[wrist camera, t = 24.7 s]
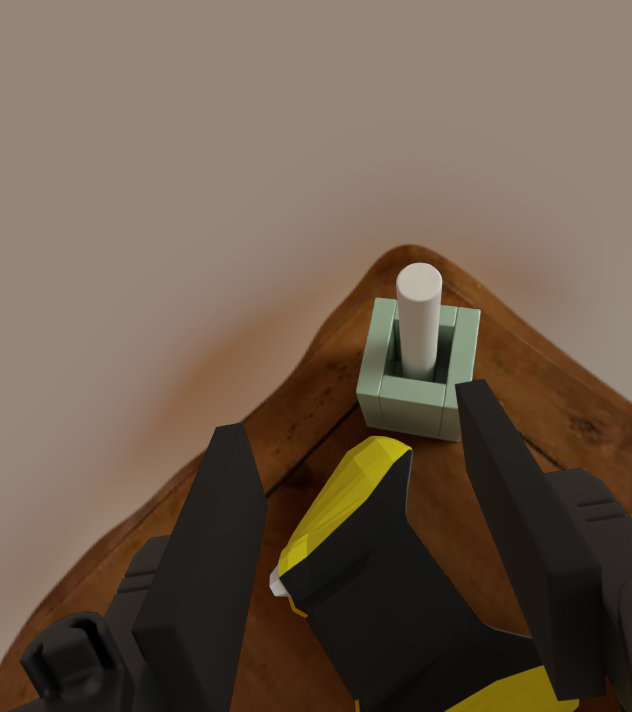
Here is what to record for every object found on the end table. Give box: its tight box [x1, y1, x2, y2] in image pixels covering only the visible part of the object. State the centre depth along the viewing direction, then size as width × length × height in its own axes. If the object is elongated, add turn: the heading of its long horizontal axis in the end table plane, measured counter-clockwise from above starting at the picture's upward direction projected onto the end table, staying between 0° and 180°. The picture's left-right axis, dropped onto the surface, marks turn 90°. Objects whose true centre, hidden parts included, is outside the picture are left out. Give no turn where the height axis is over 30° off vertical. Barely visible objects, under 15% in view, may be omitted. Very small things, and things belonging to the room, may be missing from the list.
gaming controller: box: [269, 436, 579, 712], centre depth 27 cm, size 15×6×10 cm
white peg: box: [396, 263, 442, 383], centre depth 27 cm, size 2×2×13 cm
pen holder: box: [356, 298, 481, 442], centre depth 31 cm, size 6×6×6 cm
